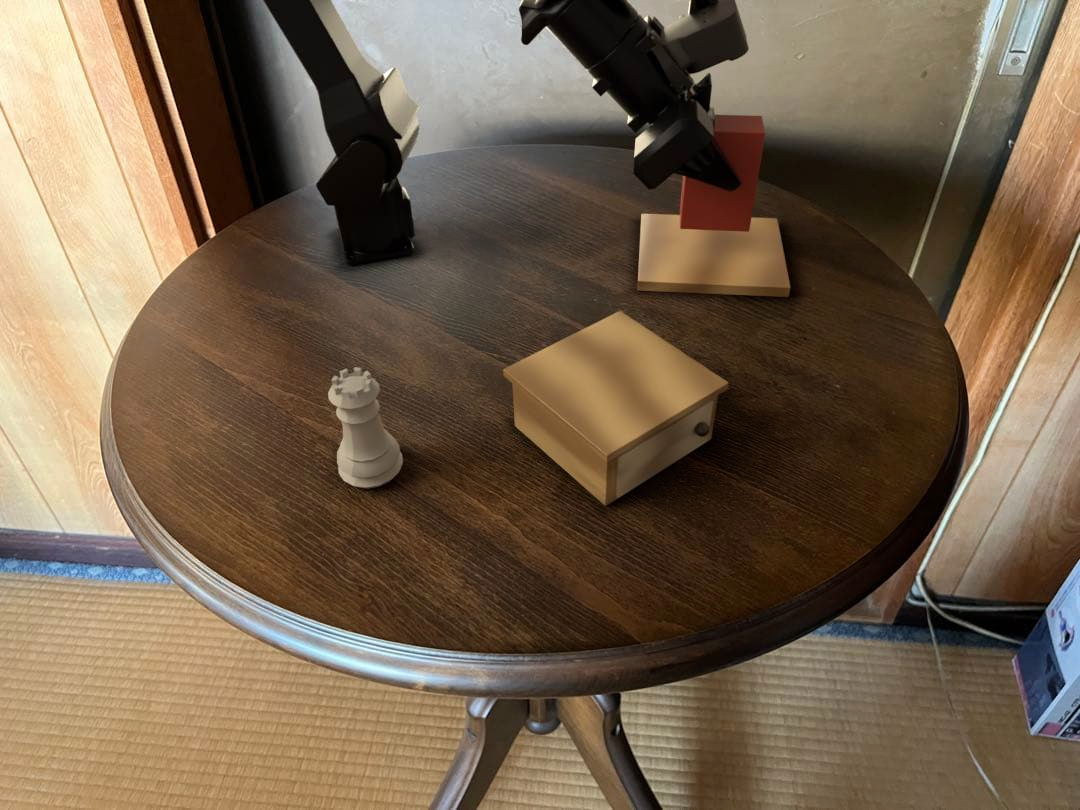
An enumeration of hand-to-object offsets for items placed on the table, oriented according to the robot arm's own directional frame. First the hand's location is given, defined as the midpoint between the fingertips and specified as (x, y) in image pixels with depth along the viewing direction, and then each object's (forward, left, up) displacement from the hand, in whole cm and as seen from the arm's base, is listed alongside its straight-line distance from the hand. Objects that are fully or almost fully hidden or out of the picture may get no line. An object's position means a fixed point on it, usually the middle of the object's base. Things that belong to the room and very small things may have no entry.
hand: (735, 177), depth 71 cm
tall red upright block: (-1, +1, -4) cm, 5 cm away
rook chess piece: (-35, -16, -8) cm, 40 cm away
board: (-1, +1, -8) cm, 8 cm away
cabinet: (-18, -18, -8) cm, 27 cm away
